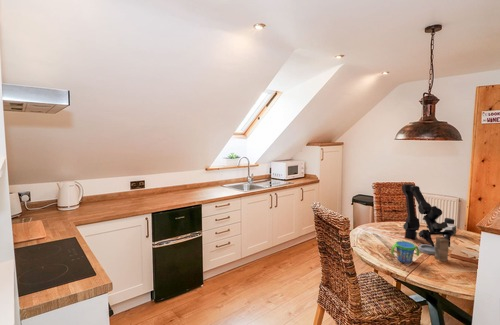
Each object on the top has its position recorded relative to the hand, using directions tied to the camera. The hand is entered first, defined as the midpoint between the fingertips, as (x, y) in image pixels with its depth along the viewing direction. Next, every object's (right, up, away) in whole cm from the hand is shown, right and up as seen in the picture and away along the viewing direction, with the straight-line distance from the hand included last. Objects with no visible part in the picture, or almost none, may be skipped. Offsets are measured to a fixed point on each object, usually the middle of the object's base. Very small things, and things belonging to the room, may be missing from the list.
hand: (441, 246), depth 166 cm
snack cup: (-23, -9, 0) cm, 24 cm away
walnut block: (0, -8, +1) cm, 8 cm away
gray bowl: (+1, -7, +13) cm, 15 cm away
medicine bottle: (+35, -4, +42) cm, 55 cm away
